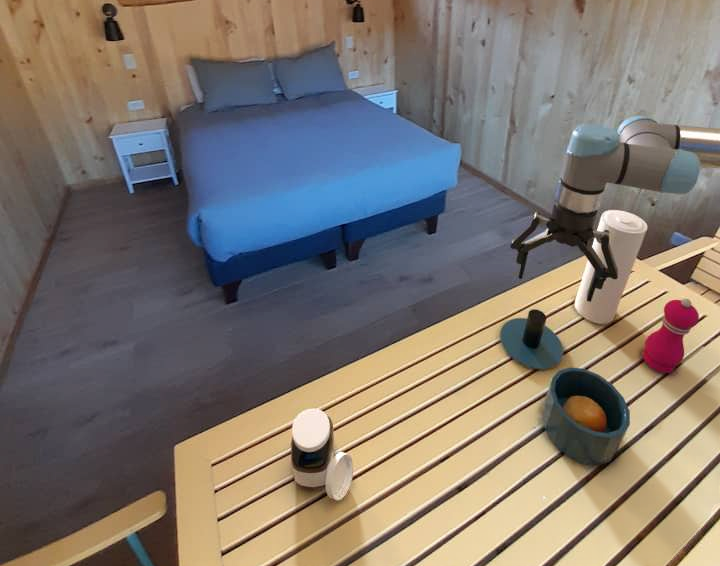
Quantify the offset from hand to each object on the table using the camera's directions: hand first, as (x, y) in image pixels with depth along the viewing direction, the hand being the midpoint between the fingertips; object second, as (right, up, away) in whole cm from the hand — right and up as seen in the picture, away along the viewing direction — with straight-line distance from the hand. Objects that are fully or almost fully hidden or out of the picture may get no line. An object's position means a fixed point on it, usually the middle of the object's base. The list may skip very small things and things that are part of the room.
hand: (553, 285), depth 87 cm
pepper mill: (+29, -21, +8) cm, 36 cm away
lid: (0, -18, +12) cm, 22 cm away
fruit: (+3, -27, -5) cm, 28 cm away
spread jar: (-49, -32, -10) cm, 59 cm away
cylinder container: (+22, -14, +22) cm, 34 cm away
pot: (+2, -28, -5) cm, 28 cm away
